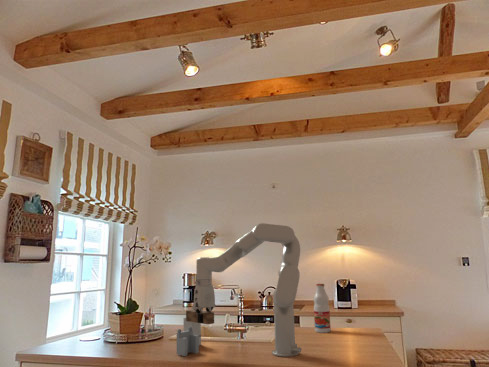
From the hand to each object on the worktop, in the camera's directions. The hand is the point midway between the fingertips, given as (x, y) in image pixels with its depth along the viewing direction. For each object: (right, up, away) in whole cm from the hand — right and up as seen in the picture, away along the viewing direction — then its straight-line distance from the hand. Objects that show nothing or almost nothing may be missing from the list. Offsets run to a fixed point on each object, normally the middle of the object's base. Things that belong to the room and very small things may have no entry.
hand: (204, 321), depth 195 cm
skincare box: (-8, -20, +19) cm, 29 cm away
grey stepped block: (-8, -17, +3) cm, 19 cm away
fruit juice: (+67, -23, +50) cm, 86 cm away
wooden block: (-2, -1, +2) cm, 3 cm away
